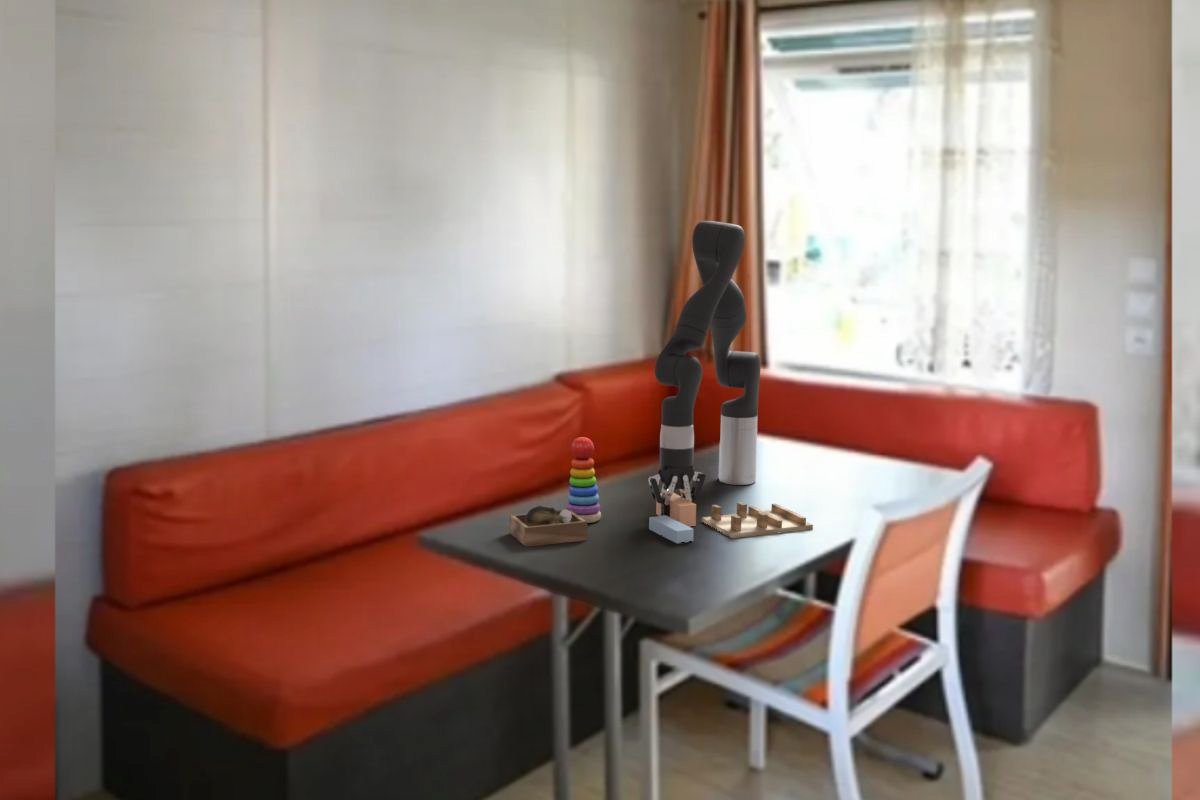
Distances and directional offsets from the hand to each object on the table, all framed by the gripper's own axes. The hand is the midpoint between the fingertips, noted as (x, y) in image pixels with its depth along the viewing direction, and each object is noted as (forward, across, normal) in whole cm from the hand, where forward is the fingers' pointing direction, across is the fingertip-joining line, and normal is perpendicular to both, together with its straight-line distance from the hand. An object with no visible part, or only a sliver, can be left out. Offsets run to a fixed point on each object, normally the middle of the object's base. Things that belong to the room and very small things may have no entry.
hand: (675, 518), depth 267 cm
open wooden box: (0, +31, +2) cm, 31 cm away
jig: (0, -15, +10) cm, 18 cm away
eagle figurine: (0, +31, +2) cm, 31 cm away
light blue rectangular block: (+1, +6, +10) cm, 12 cm away
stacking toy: (+1, +19, -8) cm, 21 cm away
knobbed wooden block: (0, 0, 0) cm, 0 cm away
